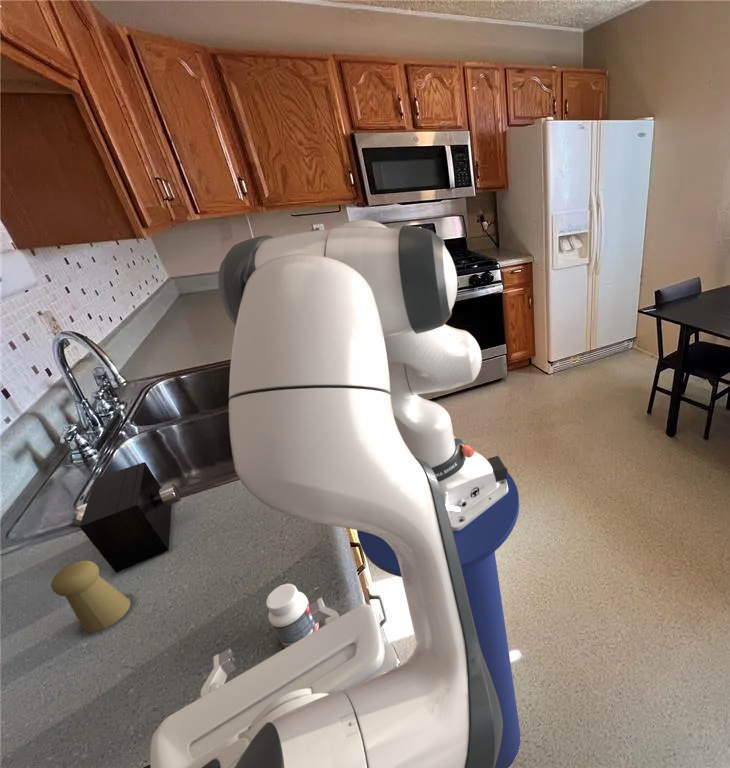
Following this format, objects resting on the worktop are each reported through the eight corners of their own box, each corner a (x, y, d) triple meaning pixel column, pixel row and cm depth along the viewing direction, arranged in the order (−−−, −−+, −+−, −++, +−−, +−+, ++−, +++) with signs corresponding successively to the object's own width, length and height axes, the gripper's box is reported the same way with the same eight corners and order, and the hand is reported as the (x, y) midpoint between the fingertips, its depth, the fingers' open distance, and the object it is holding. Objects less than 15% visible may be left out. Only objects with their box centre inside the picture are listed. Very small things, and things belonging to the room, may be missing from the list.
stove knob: (75, 513, 92) (67, 504, 90) (117, 496, 96) (110, 487, 94) (73, 531, 87) (65, 521, 85) (118, 512, 91) (111, 502, 89)
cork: (96, 604, 71) (57, 561, 65) (137, 592, 72) (103, 549, 67) (75, 638, 65) (32, 593, 60) (120, 624, 67) (81, 580, 62)
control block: (171, 504, 92) (145, 461, 86) (168, 550, 80) (137, 504, 74) (126, 521, 88) (95, 478, 82) (116, 573, 76) (79, 526, 71)
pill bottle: (324, 631, 63) (306, 594, 59) (289, 658, 60) (268, 621, 56) (311, 609, 67) (293, 573, 62) (277, 634, 63) (256, 597, 59)
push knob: (181, 493, 87) (173, 480, 85) (181, 504, 84) (172, 489, 82) (150, 505, 84) (141, 491, 82) (149, 516, 81) (139, 502, 80)
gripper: (399, 656, 39) (357, 560, 50) (130, 836, 30) (148, 671, 40) (412, 691, 42) (370, 593, 53) (171, 866, 33) (178, 704, 43)
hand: (272, 628), depth 46 cm, fingers open, 8 cm apart
